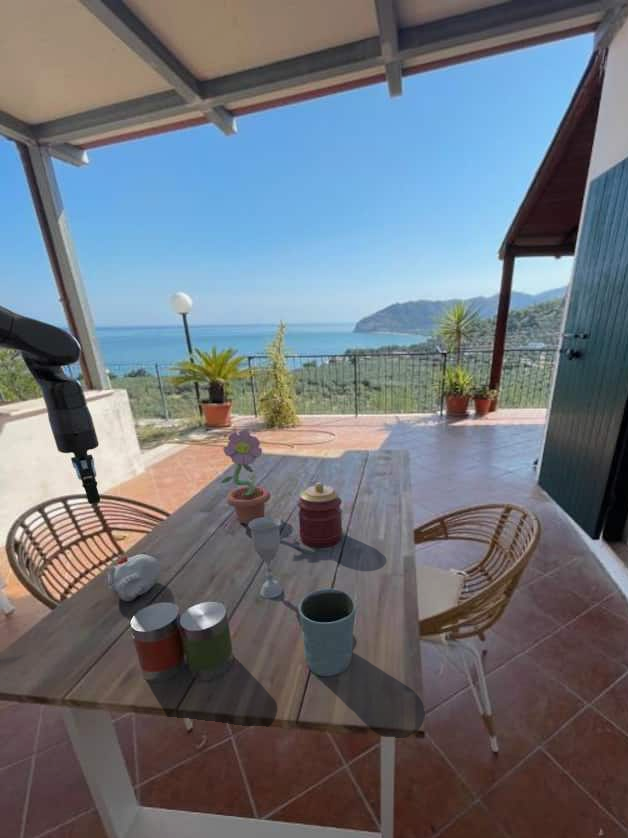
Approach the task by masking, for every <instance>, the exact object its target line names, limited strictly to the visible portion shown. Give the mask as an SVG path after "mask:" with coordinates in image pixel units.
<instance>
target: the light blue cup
mask: <svg viewBox="0 0 628 838" xmlns="http://www.w3.org/2000/svg"><path fill="white" fill-rule="evenodd" d="M356 611H357V603H356V600H355V599H354V597H353V596H352V595H351V594H350V593H348V592H346V591H344V590H341V589H338V588H337V589H336V588H323V589H318V590H315V591H312V592H310V593H308V594H306V595H305V596H304V597H303V598H302V599H301V600H300V602H299V604H298V615H299V619H300V626H301V631H302V641H303V646H304V656H305V663H306V665H307V668H308V670H310V671H311V672H312V673H313V674H315V675H317V676H320V677H334V676H337V675H339V674H341V673H343V672H344V671H346V670H347V669H348V667H349V666H350V664H351V661H352V655H353V653H352V650H353V638H354V629H355V628H354V626H355V619H356Z"/></svg>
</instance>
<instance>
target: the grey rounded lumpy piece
mask: <svg viewBox="0 0 628 838" xmlns="http://www.w3.org/2000/svg"><path fill="white" fill-rule="evenodd" d="M146 553H147V552H141V553H138V554H136V555H134V556H130V557H122V558H121V559H120V560H119V561H118V562H117V563H116V564H115V565H112V566H110V567H109V569H108V571H107V584H108V585H109V590H110V592H112V593H113V594H115V595H116V596H117V597H120V599H121V600H122V601H124V602H132V601H133V600H135V599H136V598H137V597H138V596H142V595H143V594H145V593H147V592H148V591H149V590H150V589H151V588H153V587H154V585H155V583H156V582H157V580H158V579H159V576H160V568H159V564H158V561H157V558H155V557H153V556H151V555H147V554H146Z"/></svg>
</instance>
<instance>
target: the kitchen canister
mask: <svg viewBox="0 0 628 838" xmlns="http://www.w3.org/2000/svg"><path fill="white" fill-rule="evenodd" d="M339 494H340V493H339V491H338V490H337V489H335V488H333V487H331V486H329V485H324V484H323V483H322V482H317V483H314V485H313V486H309V487H307V488H305V489H304V490H303V491H301V492H300V494H299V497H300V498H299V500H298V501H297V506H298V507H299V510H298V513H297V514H298V521H299V531H298V532H299V538H300V541H301V542H302V543H303V544H305V545H307V546H311V547H314V548H315V547H316V548H319V547H320V548H321V547H322V548H323V547H328V546H332V545H335V544H337V543H338V542H340V541H341V539H342V535H343V526H342V525H343V523H342V522H343V521H342V513H343V510H342V508H341V505H342V502H343V500H342V498H341V497H339Z"/></svg>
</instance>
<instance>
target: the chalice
mask: <svg viewBox="0 0 628 838" xmlns="http://www.w3.org/2000/svg"><path fill="white" fill-rule="evenodd" d="M281 523H282V521H281V520H280V519H279V518H277V517H273V516H264V517H261V518H257V519H254V520H252V521H251V522H249V524H247V526H248V528H249V529H250V531H251V541H252V546H253V548H254V550H255V552H256V553H257V555H258V556H259V557H260V559H261V560H262V561H264V562H265V563H266V565H265V567H264V568H265V569H266V573H265V576H266V577H267V580H266V581H265V582H264V583H263V584H262V587H261V590H260V596H262V598H266V599H273V598H276V597H278V596H280V595H281V594H282V592H283V588H282V587H281V585H280V584H279V582H278V581H277V580H275V579H273V575H274V574H275V573H274V572H273V570H272V569H273V566H272V563H271V561H274V559H275V558H276V555H277V553H278V551H279V548H280V544H281V534H280V533H281V532H280V526H281Z"/></svg>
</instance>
